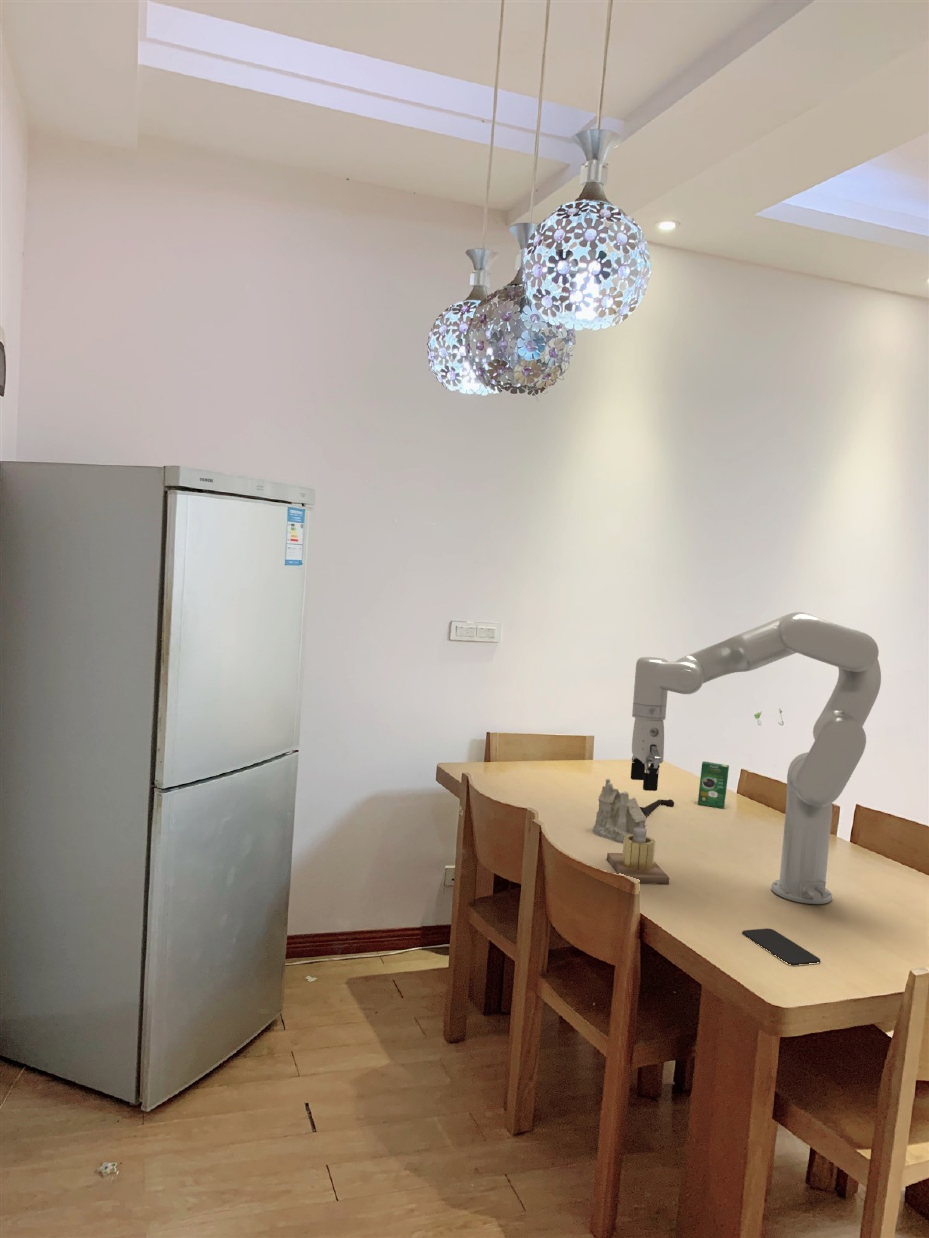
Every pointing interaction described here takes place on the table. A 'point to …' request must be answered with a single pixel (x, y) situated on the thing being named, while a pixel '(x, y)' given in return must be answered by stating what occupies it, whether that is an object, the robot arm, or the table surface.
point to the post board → (643, 875)
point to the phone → (781, 946)
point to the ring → (638, 853)
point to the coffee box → (713, 784)
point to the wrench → (654, 805)
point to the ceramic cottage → (617, 814)
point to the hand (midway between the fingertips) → (643, 784)
